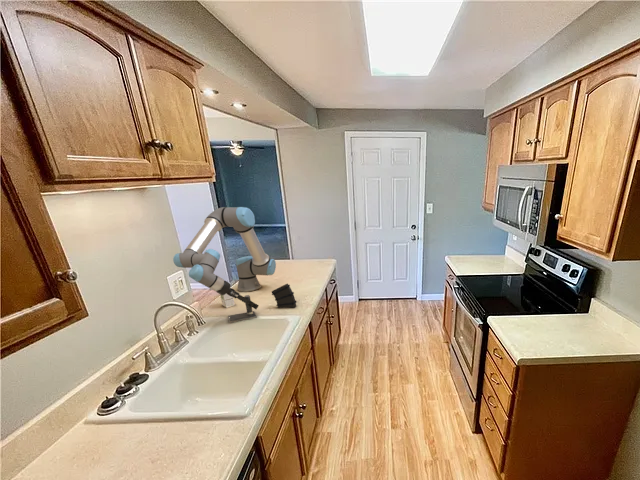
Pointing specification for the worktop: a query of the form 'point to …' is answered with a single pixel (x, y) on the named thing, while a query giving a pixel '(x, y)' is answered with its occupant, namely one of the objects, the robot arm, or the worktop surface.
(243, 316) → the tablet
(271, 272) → the robot arm
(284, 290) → the black ridged block
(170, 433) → the worktop surface
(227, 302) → the syrup box
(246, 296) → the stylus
